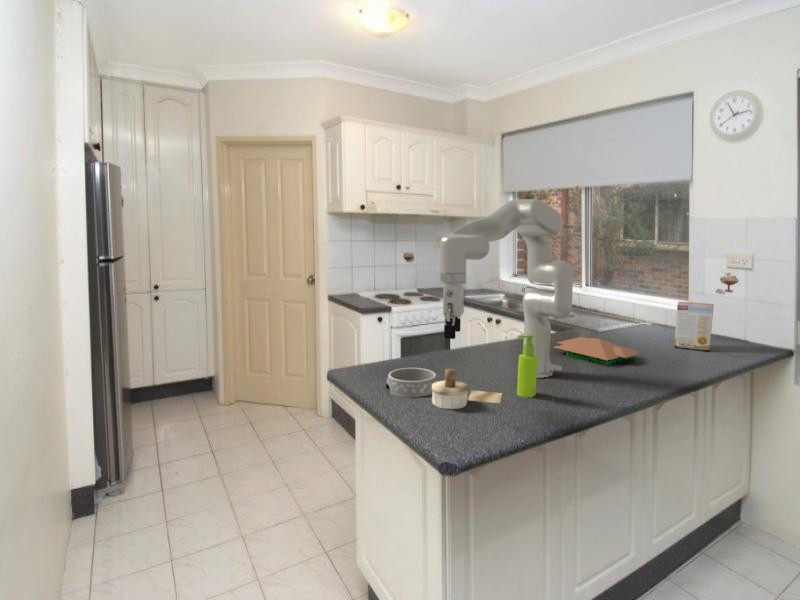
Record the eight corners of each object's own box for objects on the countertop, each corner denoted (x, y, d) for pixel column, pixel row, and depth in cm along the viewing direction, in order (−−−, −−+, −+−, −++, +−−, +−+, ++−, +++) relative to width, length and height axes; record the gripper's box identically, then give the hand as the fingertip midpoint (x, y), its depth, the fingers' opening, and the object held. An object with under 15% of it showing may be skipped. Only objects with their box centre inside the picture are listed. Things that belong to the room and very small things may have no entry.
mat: (502, 394, 167) (502, 393, 167) (500, 404, 158) (500, 403, 157) (471, 391, 170) (471, 390, 170) (467, 401, 160) (467, 400, 160)
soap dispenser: (511, 392, 169) (514, 333, 166) (532, 392, 169) (535, 332, 166) (517, 398, 163) (519, 337, 160) (538, 398, 164) (541, 336, 161)
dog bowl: (395, 400, 161) (395, 384, 160) (380, 383, 178) (380, 368, 178) (446, 396, 166) (446, 379, 165) (427, 379, 183) (427, 364, 182)
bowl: (468, 400, 161) (469, 386, 161) (463, 411, 151) (464, 396, 151) (436, 396, 164) (436, 383, 163) (429, 408, 154) (429, 393, 153)
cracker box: (709, 349, 232) (714, 303, 229) (709, 352, 227) (713, 305, 224) (674, 345, 239) (678, 300, 236) (673, 347, 234) (677, 302, 231)
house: (613, 369, 199) (614, 349, 197) (544, 352, 225) (545, 334, 224) (645, 361, 212) (646, 341, 211) (576, 345, 238) (577, 328, 237)
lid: (470, 386, 161) (471, 366, 160) (465, 397, 150) (466, 376, 149) (435, 382, 164) (435, 363, 163) (428, 393, 153) (428, 373, 152)
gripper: (461, 282, 143) (460, 342, 146) (469, 275, 159) (468, 329, 162) (434, 281, 145) (434, 340, 147) (445, 274, 161) (445, 328, 164)
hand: (452, 334), depth 155 cm, fingers open, 9 cm apart
